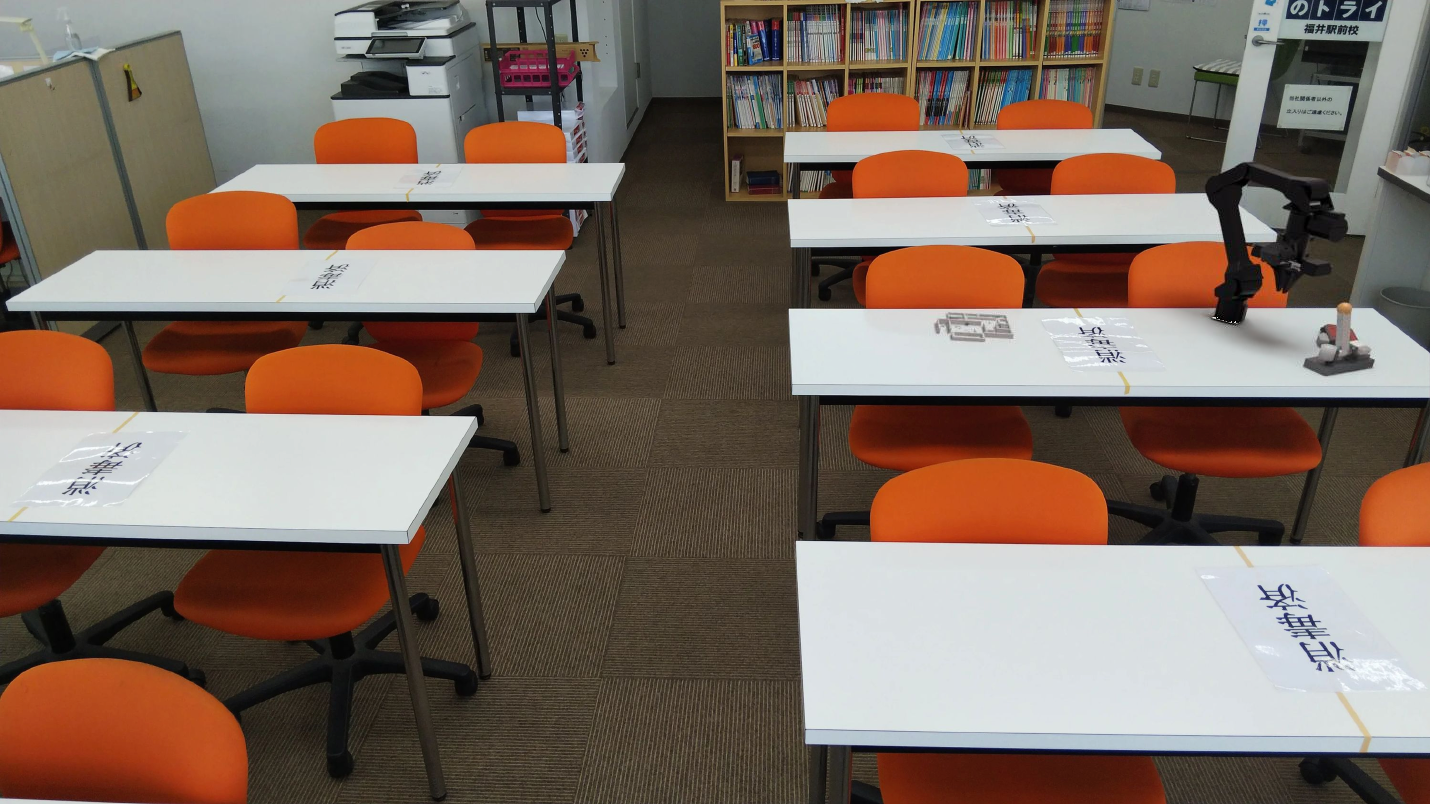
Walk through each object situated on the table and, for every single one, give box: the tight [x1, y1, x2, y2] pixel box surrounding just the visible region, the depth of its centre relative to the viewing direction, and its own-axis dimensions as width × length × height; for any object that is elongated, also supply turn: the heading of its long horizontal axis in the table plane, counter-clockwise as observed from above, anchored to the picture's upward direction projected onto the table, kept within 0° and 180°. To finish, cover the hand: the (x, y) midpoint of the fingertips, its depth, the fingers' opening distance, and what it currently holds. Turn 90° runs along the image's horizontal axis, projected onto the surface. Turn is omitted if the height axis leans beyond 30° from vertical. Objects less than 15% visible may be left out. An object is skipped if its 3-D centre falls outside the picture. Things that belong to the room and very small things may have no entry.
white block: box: [1350, 339, 1372, 355], centre depth 225 cm, size 4×3×1 cm
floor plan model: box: [936, 311, 1014, 343], centre depth 244 cm, size 19×25×2 cm
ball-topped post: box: [1336, 302, 1353, 358], centre depth 223 cm, size 3×4×13 cm
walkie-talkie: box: [1316, 323, 1360, 348], centre depth 236 cm, size 9×4×20 cm
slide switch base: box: [1302, 344, 1376, 377], centre depth 225 cm, size 6×15×5 cm, turn 109°
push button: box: [1317, 344, 1337, 361], centre depth 222 cm, size 3×3×3 cm
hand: (1281, 292), depth 237 cm, fingers closed
